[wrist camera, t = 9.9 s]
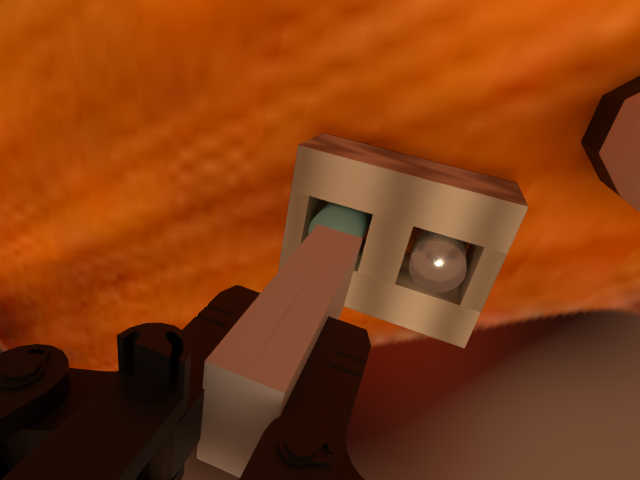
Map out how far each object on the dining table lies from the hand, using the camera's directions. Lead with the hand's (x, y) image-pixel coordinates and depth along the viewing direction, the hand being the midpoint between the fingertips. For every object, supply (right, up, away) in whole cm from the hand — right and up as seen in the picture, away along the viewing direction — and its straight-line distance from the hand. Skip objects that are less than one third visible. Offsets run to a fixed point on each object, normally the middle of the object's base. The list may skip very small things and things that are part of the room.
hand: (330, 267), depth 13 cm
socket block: (+6, +2, +22) cm, 23 cm away
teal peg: (+2, +3, +22) cm, 23 cm away
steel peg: (+10, +1, +21) cm, 23 cm away
